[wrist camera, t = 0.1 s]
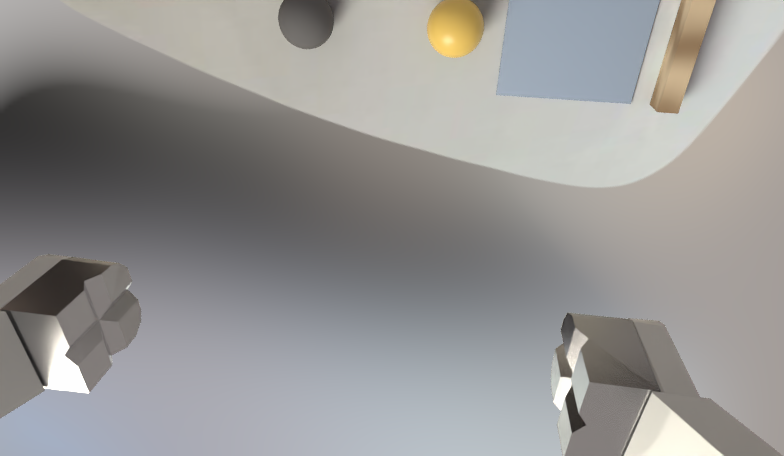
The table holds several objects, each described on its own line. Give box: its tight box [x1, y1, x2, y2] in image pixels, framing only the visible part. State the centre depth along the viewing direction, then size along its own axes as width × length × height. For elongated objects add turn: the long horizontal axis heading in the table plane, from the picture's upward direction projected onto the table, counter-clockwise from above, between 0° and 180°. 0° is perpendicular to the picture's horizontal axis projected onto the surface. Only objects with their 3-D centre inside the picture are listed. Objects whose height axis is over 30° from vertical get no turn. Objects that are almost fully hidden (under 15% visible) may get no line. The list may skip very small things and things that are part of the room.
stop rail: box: [650, 0, 716, 113], centre depth 48 cm, size 14×2×2 cm, turn 178°
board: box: [496, 0, 660, 104], centre depth 50 cm, size 14×14×1 cm
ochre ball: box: [427, 0, 484, 58], centre depth 49 cm, size 6×6×6 cm
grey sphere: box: [278, 0, 334, 49], centre depth 50 cm, size 6×6×6 cm
